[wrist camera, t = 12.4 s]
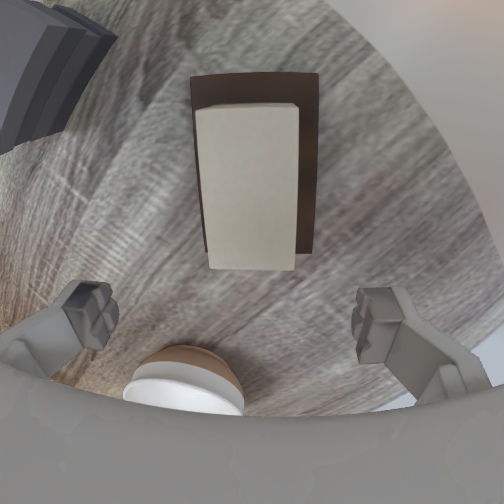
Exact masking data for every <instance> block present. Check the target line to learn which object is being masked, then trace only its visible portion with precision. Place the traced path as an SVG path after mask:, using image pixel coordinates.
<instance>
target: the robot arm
mask: <svg viewBox="0 0 504 504" xmlns="http://www.w3.org/2000/svg"><path fill="white" fill-rule="evenodd" d="M112 293H113V291H112V289H111V286H110V284H108V283H106V282H97V281H87V280H72V281H70V282H69V283H68V284H67V286H66V287H65V288H64V289H63V291H62V292H61V293H60V294H59V296H58V297H57V298H56V299H55V301H54V302H53V303H52V304H51V306H50V307H48V306H47V307H45V308H43V309H41V310H40V311H38V312H36V313H34V314H33V315H31V316H29V317H27V318H26V319H24V320H22V321H21V322H19V323H17V324H15V325H14V326H12V327H10V328H9V329H7V330H5V331H4V332H2V333H1V334H0V504H504V384H502V385H498V386H495V387H492V385H491V383H490V381H489V378H488V376H487V374H486V372H485V370H484V368H483V365H482V363H481V361H480V359H479V357H477V356H476V355H474V354H473V353H472V352H470V351H469V350H468V349H466V348H465V347H464V346H462V345H461V344H459V343H458V342H457V341H455V340H454V339H452V338H451V337H450V336H448V335H447V334H445V333H444V332H443V331H441V330H440V329H438V328H437V327H436V326H434V325H433V324H431V323H430V322H428V321H427V320H426V319H425V320H421V318H420V316H419V314H418V312H417V309H416V307H415V305H414V303H413V301H412V300H411V298H410V296H409V294H408V292H407V290H406V288H405V287H404V286H392V287H377V288H359V289H358V291H357V295H356V301H357V306H356V307H355V308H354V309H353V313H352V321H351V328H352V335H353V338H354V339H355V340H356V341H358V342H357V345H356V352H357V357H358V361H359V364H380V363H385V364H384V365H385V366H386V367H387V368H388V369H389V370H390V371H391V372H392V373H393V374H394V375H395V376H396V378H397V379H398V380H399V381H400V382H401V383H402V384H403V385H404V386H405V387H406V388H407V390H408V391H409V392H410V393H411V394H412V395H413V396H414V397H415V398H416V399H417V402H416V403H415V405H414V406H412V407H405V408H399V409H392V410H385V411H377V412H368V413H358V414H346V415H332V416H310V417H260V416H238V415H224V414H212V413H202V412H193V411H185V410H178V409H171V408H164V407H158V406H152V405H146V404H141V403H136V402H131V401H126V400H121V399H117V398H112V397H108V396H104V395H100V394H96V393H92V392H88V391H84V390H81V389H77V388H74V387H70V386H67V385H64V384H60V383H57V382H54V381H51V380H50V377H52V376H53V375H54V374H55V373H56V372H57V371H59V370H60V369H61V368H62V367H63V366H64V365H66V364H67V363H68V362H69V361H70V360H72V359H73V358H74V357H75V356H76V355H77V354H79V353H80V352H81V351H82V350H83V349H84V348H88V349H94V350H101V351H103V350H104V348H105V346H106V344H107V342H108V340H109V339H110V334H109V332H110V331H111V330H113V329H114V328H115V327H116V325H117V323H118V319H119V308H118V305H117V302H116V301H115V300H114V299H113V298H112V297H111V296H112Z"/></svg>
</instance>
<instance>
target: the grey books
mask: <svg viewBox="0 0 504 504" xmlns="http://www.w3.org/2000/svg"><path fill="white" fill-rule="evenodd" d="M117 38H118V36H116V35H115V34H113V33H112V32H110V31H108V30H107V29H105V28H104V27H102V26H100V25H99V24H97V23H95V22H94V21H92V20H90V19H89V18H87V17H85V16H83V15H82V14H80V13H78V12H76V11H75V10H73V9H71V8H69V7H64V6H60V5H54V6H53V8H49V7H47V6H45V5H44V4H42V3H40V2H36V1H30V0H0V155H2V154H4V153H6V152H9V151H11V150H13V147H14V146H17V145H19V144H22V143H24V142H27V141H34V140H36V139H39V138H42V137H44V136H49V135H52V134H55V133H58V132H61V131H63V129H64V127H65V125H66V123H67V121H68V119H69V117H70V115H71V113H72V111H73V109H74V107H75V105H76V103H77V101H78V99H79V98H80V96H81V94H82V92H83V90H84V89H85V87H86V85H87V84H88V82H89V80H90V78H91V77H92V75H93V74H94V72H95V70H96V69H97V67H98V66H99V64H100V62H101V61H102V59H103V58H104V56H105V55H106V53H107V52H108V50H109V49H110V47H111V46H112V45H113V43H114V42H115V40H116V39H117Z"/></svg>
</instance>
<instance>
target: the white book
mask: <svg viewBox="0 0 504 504" xmlns="http://www.w3.org/2000/svg"><path fill="white" fill-rule="evenodd" d="M195 118H196V133H197V146H198V158H199V170H200V181H201V192H202V202H203V212H204V222H205V231H206V240H207V249H208V258H209V266H210V269H228V270H291V271H293V270H294V267H295V248H296V226H297V198H298V156H299V108H298V107H297V106H295V105H248V106H224V107H209V108H202V109H199V110H196V111H195Z"/></svg>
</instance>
